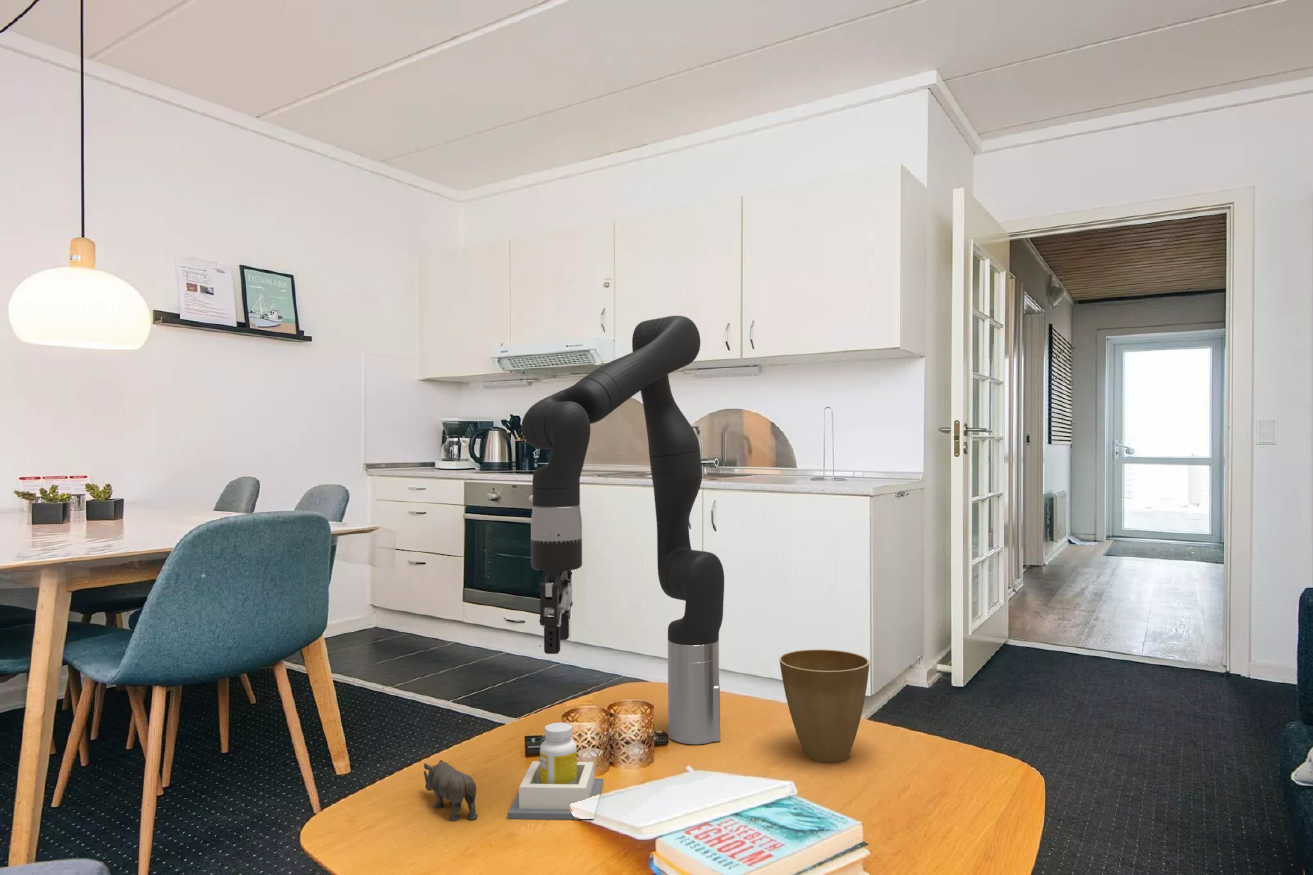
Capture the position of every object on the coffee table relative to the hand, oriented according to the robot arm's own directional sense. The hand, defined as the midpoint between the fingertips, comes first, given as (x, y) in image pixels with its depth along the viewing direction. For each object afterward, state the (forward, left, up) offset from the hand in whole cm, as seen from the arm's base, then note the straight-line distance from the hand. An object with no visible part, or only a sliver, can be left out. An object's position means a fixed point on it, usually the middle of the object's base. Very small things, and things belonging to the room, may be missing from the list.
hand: (557, 646), depth 115 cm
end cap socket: (0, +1, -22) cm, 22 cm away
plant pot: (-42, -18, -22) cm, 51 cm away
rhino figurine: (+16, +3, -23) cm, 28 cm away
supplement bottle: (0, +1, -22) cm, 22 cm away
